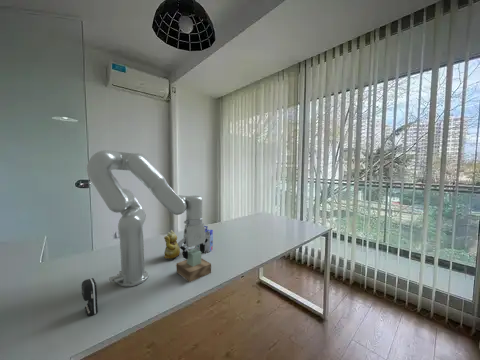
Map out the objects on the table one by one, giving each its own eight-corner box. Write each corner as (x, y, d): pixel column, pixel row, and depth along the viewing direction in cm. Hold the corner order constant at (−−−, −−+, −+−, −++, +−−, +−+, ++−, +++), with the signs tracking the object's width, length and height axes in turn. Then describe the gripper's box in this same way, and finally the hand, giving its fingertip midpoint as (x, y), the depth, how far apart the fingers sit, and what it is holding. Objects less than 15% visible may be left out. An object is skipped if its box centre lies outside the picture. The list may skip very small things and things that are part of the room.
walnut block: (189, 283, 98) (189, 272, 97) (176, 273, 106) (176, 263, 106) (211, 273, 106) (211, 263, 106) (197, 264, 115) (197, 255, 114)
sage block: (192, 266, 103) (192, 254, 102) (186, 263, 106) (186, 251, 105) (201, 263, 106) (201, 251, 106) (195, 259, 110) (195, 248, 109)
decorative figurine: (168, 253, 127) (167, 228, 126) (182, 253, 127) (181, 228, 126) (162, 261, 118) (161, 234, 116) (177, 261, 118) (177, 234, 116)
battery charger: (82, 308, 80) (80, 279, 79) (94, 304, 82) (92, 275, 81) (85, 319, 75) (83, 287, 74) (98, 313, 77) (96, 283, 76)
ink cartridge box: (213, 248, 135) (213, 226, 133) (210, 252, 129) (210, 228, 128) (198, 247, 137) (198, 224, 135) (194, 250, 131) (194, 227, 130)
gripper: (182, 226, 96) (182, 263, 97) (213, 219, 108) (212, 252, 110) (174, 223, 101) (174, 258, 103) (204, 216, 113) (203, 248, 115)
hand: (194, 255), depth 106 cm, fingers open, 9 cm apart
